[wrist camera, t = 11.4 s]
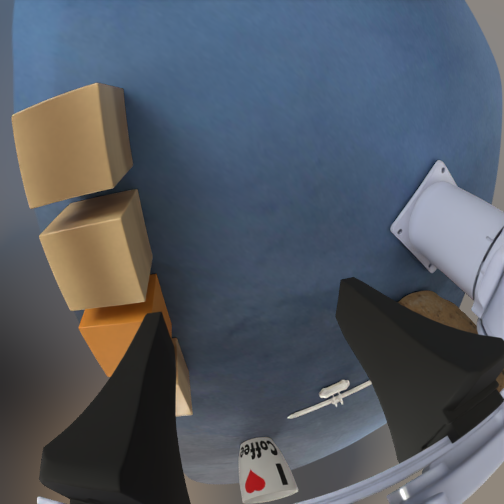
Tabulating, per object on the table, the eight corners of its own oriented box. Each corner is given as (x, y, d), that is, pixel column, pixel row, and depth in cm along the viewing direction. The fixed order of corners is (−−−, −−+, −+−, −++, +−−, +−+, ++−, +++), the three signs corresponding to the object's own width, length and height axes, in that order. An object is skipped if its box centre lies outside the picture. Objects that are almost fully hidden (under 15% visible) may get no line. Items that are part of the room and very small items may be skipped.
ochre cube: (156, 273, 20) (151, 320, 15) (171, 324, 22) (172, 371, 18) (95, 282, 19) (78, 328, 15) (116, 330, 22) (107, 377, 17)
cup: (282, 428, 36) (301, 485, 27) (280, 446, 40) (295, 495, 31) (228, 438, 35) (241, 498, 26) (233, 455, 39) (244, 505, 30)
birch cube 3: (123, 88, 13) (98, 82, 9) (133, 166, 16) (114, 188, 12) (52, 109, 13) (10, 115, 8) (64, 182, 15) (29, 209, 11)
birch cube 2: (137, 188, 17) (120, 218, 12) (153, 257, 19) (145, 302, 15) (69, 203, 16) (38, 235, 12) (90, 267, 18) (70, 311, 14)
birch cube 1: (176, 337, 23) (178, 384, 19) (189, 371, 26) (192, 415, 21) (123, 343, 22) (116, 389, 18) (140, 376, 25) (138, 419, 21)
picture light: (287, 416, 34) (291, 429, 32) (280, 404, 32) (284, 418, 30) (379, 376, 34) (386, 386, 33) (380, 360, 32) (388, 371, 30)
